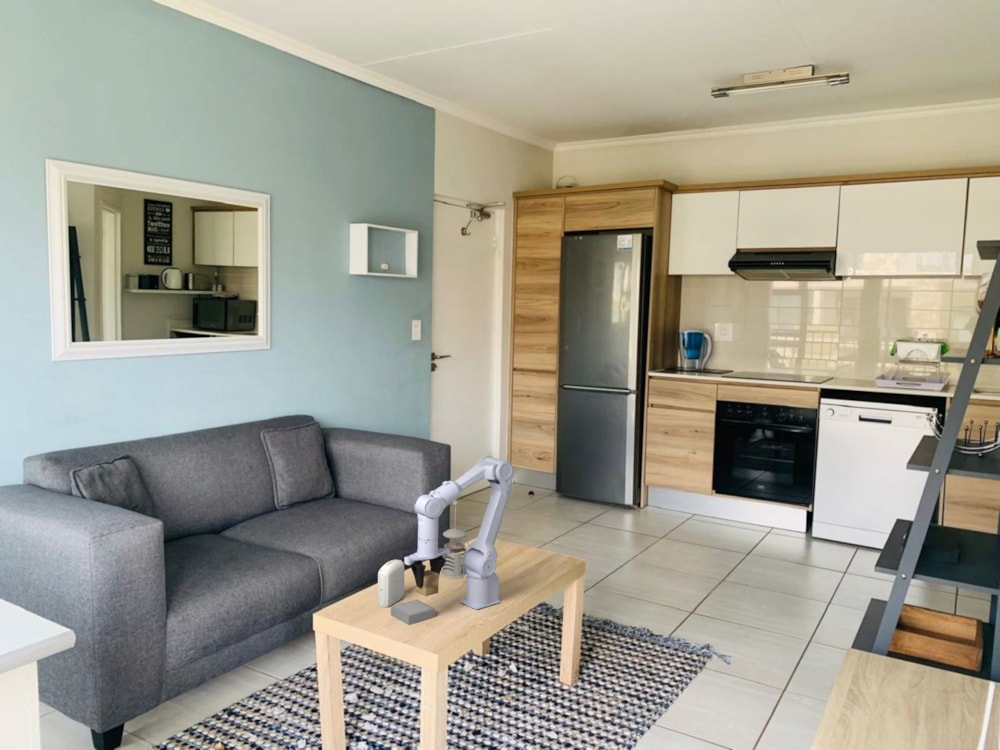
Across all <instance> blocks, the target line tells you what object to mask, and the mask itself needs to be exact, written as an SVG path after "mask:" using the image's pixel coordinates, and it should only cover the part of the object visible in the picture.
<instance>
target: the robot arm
mask: <svg viewBox="0 0 1000 750" xmlns="http://www.w3.org/2000/svg"><path fill="white" fill-rule="evenodd" d="M515 473H516V470H515V468H514V466H513V464H512V463H511V461H509V460H507V459H500V458H497V457H493V456H490V455H486V456H483V457H481V459H479V460H477V462H476V464H475V465H474V466H472V467H471V468H470V469H469V470H467V471H466V472H465V473H464V474H462V475H461V476H459V478H457V479H456V480H455V481H452V480H445V481H443V482H442V483H441V484H442V485H440V486H439V487H436V489H434V490H431V491H430V492H429V493H428V494H422V495H421V496H419V497H418V498H417V500H416V502H415V504H413V506H414V511H415V512H416V514H417V550H416V552H414V553H412V554H410V555H407V556H404V560H403V563H404V565H407V566H409V567H410V569H411V571H412V573H413V578H414V580H415V585H416V586H417V587H419V588H422V587H423V576H424V571H426V567H427V566H426V565H425V564H423V562H425V561H429V566H430V567H429V568H430V569H429V570H431V571H433V572H435V573H438V574H439V576H440V572H441V571H442V570H443V566H444V564H445V563H446V559H444V558H443V556H450V549H448V548H445V547H442V548H439V520H440V519H439V517H441V515H443V514H442V513H443V511H444V509H445V508H446V507H447V506H449V505H450V504H453V501H455V500H456V501H457V500H458V499H460V497H461V494H462V493H461V492H462V491H464V490H465V489H467V488H470V487H471V486H473V485H474V484H476V483H477V482H479V481H481V480H486V481H487V482H488V483H489V485H490V487H491V489H492V491H491V494H490V498H489V501H488V503H487V507H486V510H485V513H484V516H483V520H482V523H481V525H480V528H479V531H478V535H477V538H476V539H475V540H473V541H472V542H470V543H469V546H468V547H467V549H466V550H467V551H466V552H465V551H464V552H465V554H464V556H463V555H462V557H463V559H461V561H462V562H463V563H462V564H463V566H464V567H465V568H466V572H467V577H466V598H463V599H461V600H459V601H460V603H462V604H464V605H466V606H468V607H470V608H473V609H474V610H480V609H484V608H487V607H490V606H493V605H496V604H500V603H501V600H500V599H499V595H500V593H499V591H500V590H499V589H500V579H499V576H498V575H497V573H496V569H497V558H498V551H497V549H496V547H495V543H496V540H497V537H498V533H499V531H500V528H501V524H502V522H503V518H504V516H505V512H506V509H507V506H508V502H509V499H510V496H511V493H512V490H513V479H514V475H515ZM416 586H415V587H416Z"/></svg>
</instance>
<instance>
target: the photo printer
mask: <svg viewBox="0 0 1000 750" xmlns="http://www.w3.org/2000/svg"><path fill="white" fill-rule="evenodd" d="M404 597H405V564H404V561H402V560H401V559H392V560H389V561H387V562H386V563H385V564H383V565H382V566H381V568H380V569H379V570H378V572H377V605H378V606H379V607H380V608H388V607H391V606H393V605H394V604H396V603H397V602H399V601H400V600H401V599H403V598H404Z"/></svg>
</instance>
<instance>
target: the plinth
mask: <svg viewBox="0 0 1000 750" xmlns="http://www.w3.org/2000/svg"><path fill="white" fill-rule="evenodd" d="M390 615H391V616H393V618H396V619H397V620H399V621H401V622H402V621H403V622H402V623H404V624H406V625H408V626H410V625H414V624H418V623H420V622H424V621H426V620H430V619H434V618H435V617H436V608H435V607H432V606H430V605H429V604H427V603H425V602H424V601H421V600H419V599H417V598H416V599H412V600H409V601H406V602H402V603H398V604H395V605H394V604H393V605H391V606H390Z"/></svg>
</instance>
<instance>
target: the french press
mask: <svg viewBox="0 0 1000 750" xmlns="http://www.w3.org/2000/svg"><path fill="white" fill-rule="evenodd" d="M452 505H454V524H456V516H457V515H456V513H457V511H456V510H457V506H458V505H459V501H458V500H457V499H456V500H455V501H453V502H452ZM442 535H443V537H445V539H446V538H447V539H454V541H453V542H446V543H445V544H444V545H443V548H448V549H450V556H443V558H444V559H446V563H445V564H444V566H443V567H442V570H441V575H443V576H444V577H449V578H459V577H464V576H465V575H467V572H466V568H465V567H464V566H463V562H462V559H463V556H464V554H465V552H466V551H467V550H468V549H467V547H466V544H467V546H468V547H469V545H470V543H469V542H468V541H467V540H464V541H462V540H461V541H460V542H456V539H463V538H465V537H467V535H468V533H467V532H466V531H465V530H462V529H461V528H460V529H459V528H457V527H454V528H449V529H447V530H444V532H443V533H442ZM465 543H466V544H465ZM444 577H443V578H444Z"/></svg>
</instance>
